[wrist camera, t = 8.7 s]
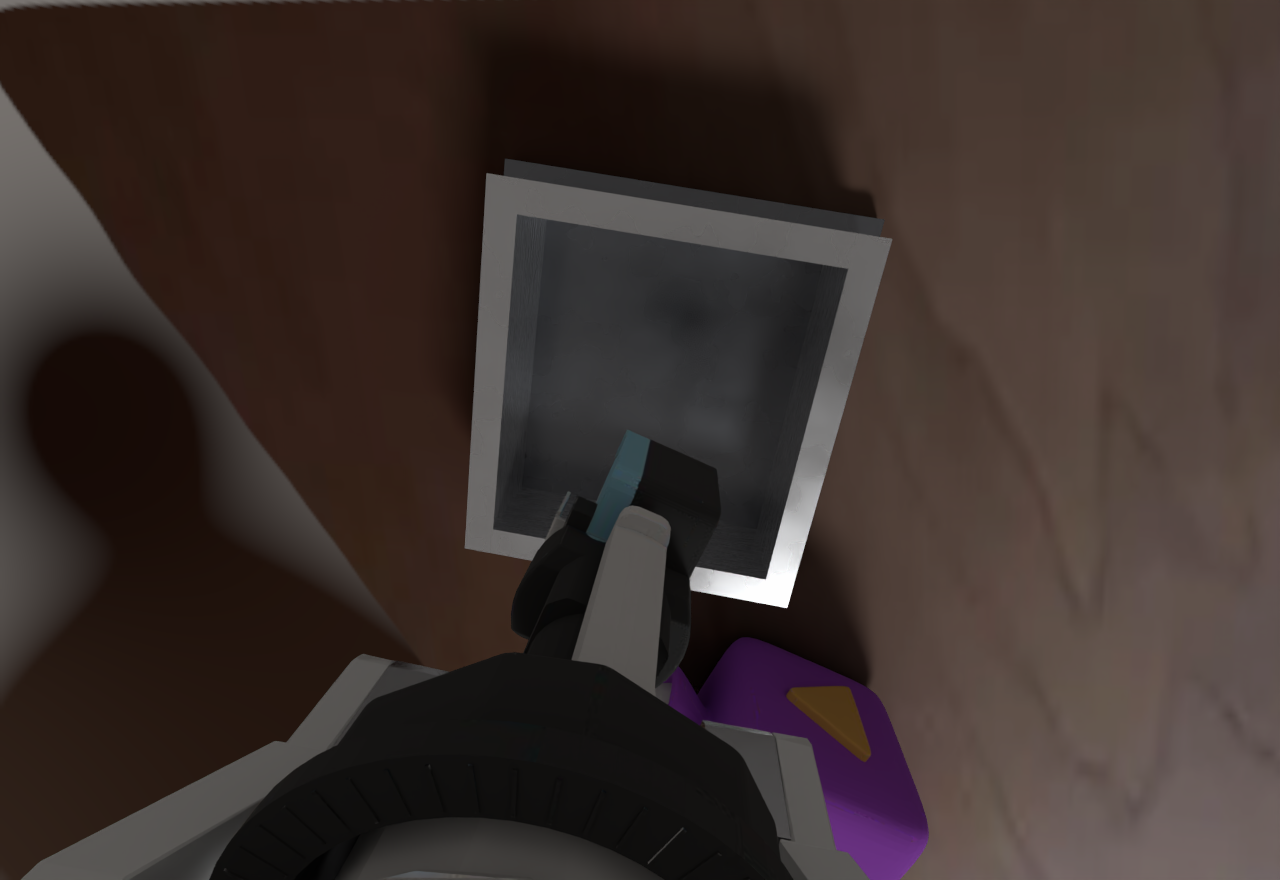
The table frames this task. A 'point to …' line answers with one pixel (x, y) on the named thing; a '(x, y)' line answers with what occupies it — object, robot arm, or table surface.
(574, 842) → the push button
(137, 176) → the table surface
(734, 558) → the grey open box
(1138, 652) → the table surface
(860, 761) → the toy camera
